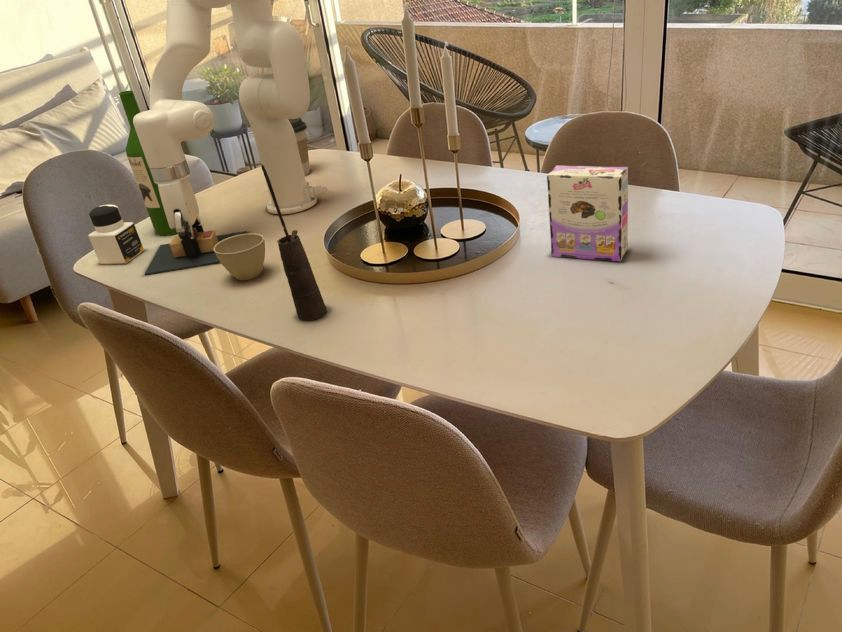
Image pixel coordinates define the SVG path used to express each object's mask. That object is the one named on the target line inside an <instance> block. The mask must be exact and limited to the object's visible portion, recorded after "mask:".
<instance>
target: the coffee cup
mask: <svg viewBox="0 0 842 632" xmlns="http://www.w3.org/2000/svg"><path fill="white" fill-rule="evenodd" d="M288 120H289V122H290V123H291V125H292V127H293V130H294V133H295V136H296V140H297V145H298V150H299V154H300V158H301V162H302V166H303V170H304V175H305V176H307V175H309V174H310V169H311V166H310V158H309V147H308V139H307V131H306V130H307V129H308V126H307V123H306V121H303V120H302V117H300V118H297V119H288Z"/></svg>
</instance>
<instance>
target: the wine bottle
mask: <svg viewBox="0 0 842 632" xmlns="http://www.w3.org/2000/svg"><path fill="white" fill-rule="evenodd" d="M118 95H119V98H120V101H121V104H122V107H123V109H124V113H125V115H126V118H127V122H128V124H129V134H128V136H127V137H128V139H127V142H126V146H125V153H126V158H127V160H128V163H129V165H130V168H131V171H132V173H133V177H134V179H135V182H136V184H137V186H138V190H139V192H140V195H141V197H142V200H143V203H144V206H145V208H146V211H147V215H148V216H149V219H150V221H151V224H152V227H153V229H154V232H155V233H156V235H158V236H162V237H164V236H173V235H174V236H175V235H178V233H177V231H176V227H175V229H171V228H170V227H169V224H168V221H167V217H166V214H165V211H164V208H163V204H162V201H161V197H160V193H159V188H158V184H156V183H154V180H153V177H152V174H151V172H150V169H149V166H148V163H147V160H146V158H145V155H144V152H143V149H142V147H141V144H140V141H139V138H138V135H137V133H136V130H135V127H134V124H133V118H134V116H135V115H137V114H138V113H141V110H140V107H139V105H138V102H137V99H136V97H135V94H134V91H133V90H124V91H120V92H118ZM184 225H187V223H183V226H184Z"/></svg>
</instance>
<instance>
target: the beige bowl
mask: <svg viewBox="0 0 842 632" xmlns="http://www.w3.org/2000/svg"><path fill="white" fill-rule="evenodd" d="M265 242H266V241H265V237H264V235H263V234H260V233H247V234H241V235H236V236H232V237H229V238H226V239H224V240H222V241H220V242H219V243H217V244H216V245H215V246H214V252H215V254H216V256H217V258H218V259H219V261H220V262H221V263H220V265H222V266H223V267H224V269H225V270H226V271H227V272H228V273H229V274H230V275H231V276H232V277H234V278H235V279H236V280H238V281H248V280H252V279H255V278H257V277H259V276H260V275H261V274H262V272H263V268H264V264H265V258H266V243H265Z"/></svg>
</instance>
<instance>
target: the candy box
mask: <svg viewBox="0 0 842 632" xmlns="http://www.w3.org/2000/svg"><path fill="white" fill-rule="evenodd" d="M546 182H547V198H548V199H547V200H548V202H547V203H548V216H549V217H548V218H549V233H550V256H551V257H555V258H556V257H557V258H569V259H570V258H571V259H582V260H594V261H609V262H621V261H622V260H623V259H624V257H625V255H626V253H627V252H628V246H629V245H628V244H629V243H628V241H629V239H628V237H629V236H628V235H629V233H628V232H629V166H594V165H593V166H590V165H585V166H584V165H555V167H553V169H551V171H550V172H548V174H547V175H546Z"/></svg>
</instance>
